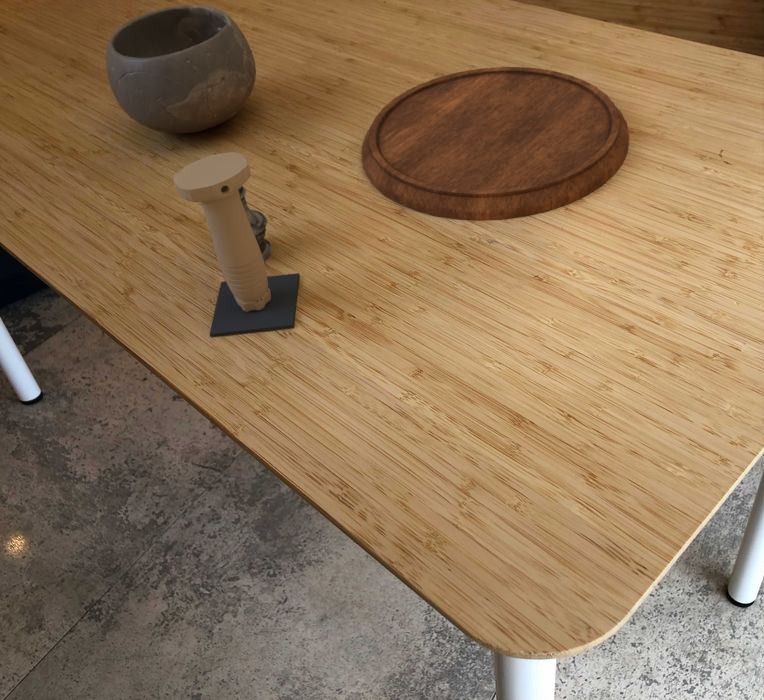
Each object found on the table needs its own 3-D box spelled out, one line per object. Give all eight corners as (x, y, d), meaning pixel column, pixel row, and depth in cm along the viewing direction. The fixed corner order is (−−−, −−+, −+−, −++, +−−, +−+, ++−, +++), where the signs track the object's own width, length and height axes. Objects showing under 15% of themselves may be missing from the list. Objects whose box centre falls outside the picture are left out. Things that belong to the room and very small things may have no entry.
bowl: (293, 100, 115) (270, 7, 106) (208, 167, 104) (174, 69, 95) (193, 82, 122) (164, -8, 113) (103, 143, 111) (63, 49, 102)
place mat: (210, 337, 81) (209, 334, 80) (222, 284, 87) (221, 281, 86) (293, 328, 81) (293, 324, 80) (299, 275, 86) (299, 272, 86)
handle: (295, 300, 83) (256, 167, 73) (236, 330, 81) (187, 196, 70) (273, 277, 86) (232, 146, 76) (215, 305, 84) (165, 173, 73)
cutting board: (674, 111, 104) (675, 92, 102) (540, 252, 86) (540, 231, 84) (460, 63, 119) (458, 46, 117) (307, 175, 101) (303, 156, 99)
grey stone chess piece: (281, 237, 92) (253, 137, 84) (264, 271, 88) (233, 170, 79) (230, 236, 93) (197, 137, 84) (211, 269, 89) (174, 169, 80)
